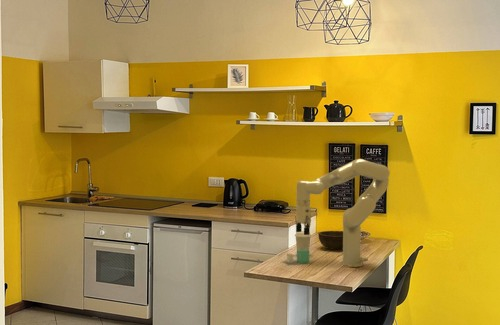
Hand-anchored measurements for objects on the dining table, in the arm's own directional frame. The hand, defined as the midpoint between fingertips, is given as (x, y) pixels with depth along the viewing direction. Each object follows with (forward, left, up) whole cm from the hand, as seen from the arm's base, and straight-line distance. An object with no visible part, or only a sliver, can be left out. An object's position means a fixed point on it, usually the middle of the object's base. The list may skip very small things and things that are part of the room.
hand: (302, 233), depth 326 cm
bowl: (-39, -32, -18) cm, 54 cm away
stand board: (+4, 0, -17) cm, 18 cm away
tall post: (+8, 0, -16) cm, 18 cm away
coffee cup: (-8, -16, -18) cm, 25 cm away
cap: (0, 0, -16) cm, 16 cm away
